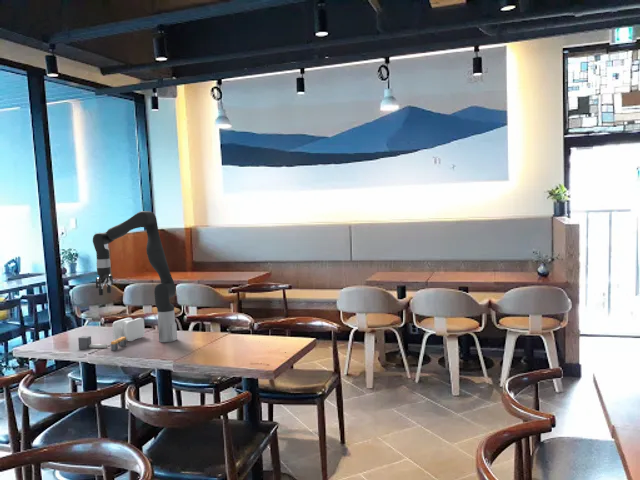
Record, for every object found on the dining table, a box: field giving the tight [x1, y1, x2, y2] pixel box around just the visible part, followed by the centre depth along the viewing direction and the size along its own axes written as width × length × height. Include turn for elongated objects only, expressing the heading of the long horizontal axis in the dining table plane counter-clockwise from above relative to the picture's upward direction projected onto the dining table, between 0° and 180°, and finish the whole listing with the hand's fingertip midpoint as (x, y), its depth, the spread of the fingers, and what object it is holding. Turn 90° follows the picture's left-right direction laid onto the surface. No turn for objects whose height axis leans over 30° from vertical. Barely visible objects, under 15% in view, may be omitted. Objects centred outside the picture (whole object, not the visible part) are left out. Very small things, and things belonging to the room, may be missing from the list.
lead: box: [77, 335, 108, 350], centre depth 287 cm, size 15×4×6 cm, turn 82°
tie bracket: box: [110, 337, 127, 352], centre depth 285 cm, size 2×11×5 cm, turn 172°
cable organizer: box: [111, 317, 146, 342], centre depth 304 cm, size 15×11×12 cm
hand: (105, 294), depth 308 cm, fingers open, 8 cm apart
